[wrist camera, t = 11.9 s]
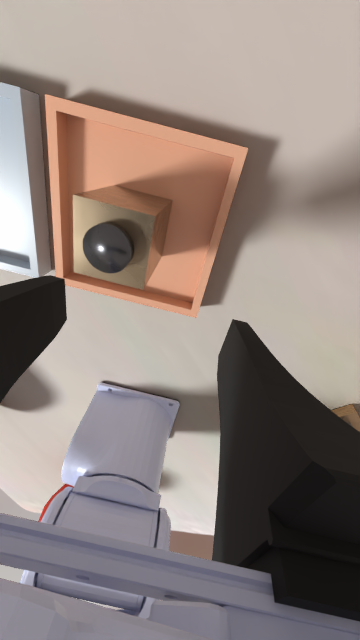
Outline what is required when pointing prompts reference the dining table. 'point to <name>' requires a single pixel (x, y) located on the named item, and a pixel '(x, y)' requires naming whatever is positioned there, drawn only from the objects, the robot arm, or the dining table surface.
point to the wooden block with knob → (119, 234)
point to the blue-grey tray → (22, 185)
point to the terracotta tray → (149, 177)
